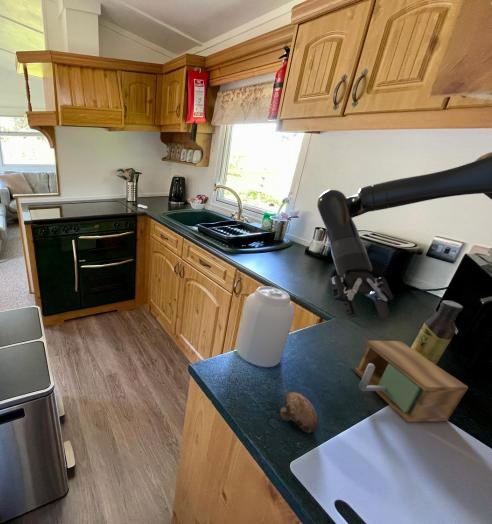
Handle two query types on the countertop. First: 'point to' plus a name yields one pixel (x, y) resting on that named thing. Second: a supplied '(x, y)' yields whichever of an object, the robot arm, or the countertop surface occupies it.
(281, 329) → the can
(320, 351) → the countertop surface
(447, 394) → the cupboard
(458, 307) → the sauce bottle
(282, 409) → the mushroom
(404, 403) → the door
